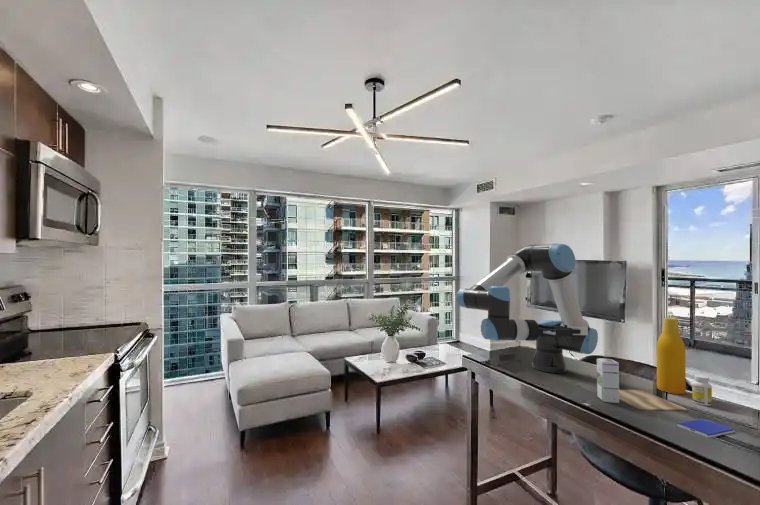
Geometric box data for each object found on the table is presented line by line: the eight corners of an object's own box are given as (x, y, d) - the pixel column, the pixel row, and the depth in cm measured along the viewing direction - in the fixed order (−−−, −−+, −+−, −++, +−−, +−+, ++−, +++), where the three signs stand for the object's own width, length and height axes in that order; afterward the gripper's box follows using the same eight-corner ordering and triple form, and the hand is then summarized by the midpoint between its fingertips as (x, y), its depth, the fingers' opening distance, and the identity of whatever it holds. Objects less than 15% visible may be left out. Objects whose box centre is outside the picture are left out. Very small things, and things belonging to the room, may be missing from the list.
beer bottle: (687, 391, 149) (686, 319, 150) (684, 396, 142) (684, 321, 143) (658, 385, 155) (658, 316, 156) (654, 390, 149) (654, 318, 150)
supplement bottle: (707, 402, 137) (707, 375, 137) (715, 407, 132) (714, 379, 132) (689, 400, 138) (689, 373, 139) (696, 404, 133) (696, 377, 134)
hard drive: (702, 417, 118) (677, 422, 114) (734, 428, 111) (708, 434, 106) (702, 422, 118) (677, 427, 114) (734, 433, 111) (708, 439, 106)
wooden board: (640, 410, 126) (640, 408, 126) (601, 390, 146) (601, 389, 146) (687, 410, 127) (687, 409, 127) (642, 391, 147) (642, 389, 147)
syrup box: (619, 403, 133) (620, 362, 133) (601, 401, 134) (602, 361, 134) (613, 398, 138) (613, 358, 139) (596, 396, 139) (596, 357, 140)
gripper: (516, 336, 141) (575, 337, 143) (533, 344, 128) (598, 345, 130) (516, 317, 142) (575, 318, 143) (533, 322, 128) (598, 323, 130)
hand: (586, 331), depth 136 cm, fingers closed
